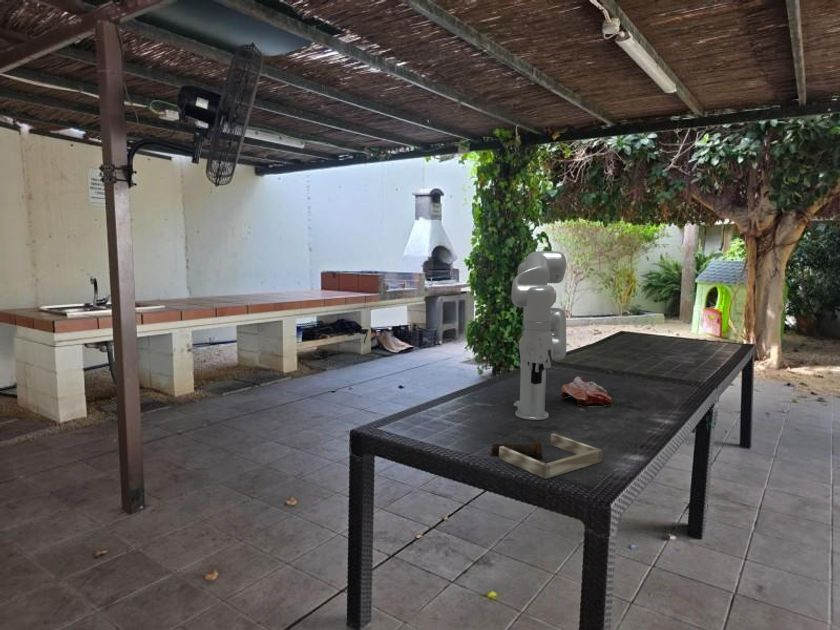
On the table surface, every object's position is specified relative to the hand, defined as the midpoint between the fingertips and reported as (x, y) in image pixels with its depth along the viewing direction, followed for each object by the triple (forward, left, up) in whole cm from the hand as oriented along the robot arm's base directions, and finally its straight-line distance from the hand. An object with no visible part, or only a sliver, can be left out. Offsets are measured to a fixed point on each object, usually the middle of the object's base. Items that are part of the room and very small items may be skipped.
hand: (536, 383), depth 170 cm
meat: (-27, +61, -21) cm, 69 cm away
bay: (+11, -6, -20) cm, 24 cm away
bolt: (+4, -12, -21) cm, 24 cm away
